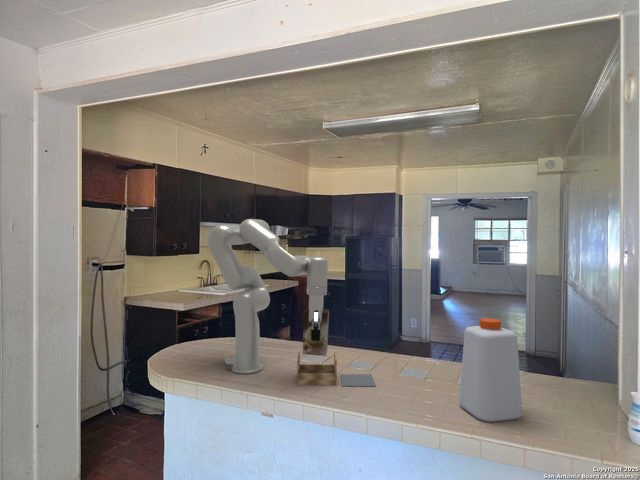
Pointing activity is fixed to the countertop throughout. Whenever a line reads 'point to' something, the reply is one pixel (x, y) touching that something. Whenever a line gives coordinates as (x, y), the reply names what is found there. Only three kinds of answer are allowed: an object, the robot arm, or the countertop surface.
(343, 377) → the mat
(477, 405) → the plastic bottle
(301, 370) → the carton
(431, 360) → the countertop surface
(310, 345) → the coffee box
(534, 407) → the countertop surface
